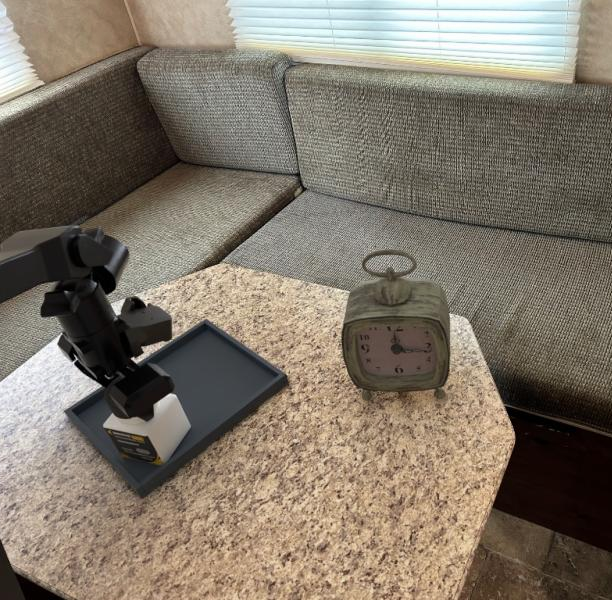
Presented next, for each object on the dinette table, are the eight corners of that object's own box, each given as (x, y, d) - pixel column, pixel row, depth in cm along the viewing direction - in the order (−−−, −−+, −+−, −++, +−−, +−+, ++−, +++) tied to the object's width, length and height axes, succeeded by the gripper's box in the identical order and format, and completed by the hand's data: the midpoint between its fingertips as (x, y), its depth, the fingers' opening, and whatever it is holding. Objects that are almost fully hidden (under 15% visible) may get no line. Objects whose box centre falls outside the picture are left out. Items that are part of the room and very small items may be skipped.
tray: (141, 499, 80) (136, 490, 79) (69, 419, 92) (63, 410, 91) (289, 383, 94) (286, 373, 92) (209, 327, 106) (206, 318, 104)
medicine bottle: (121, 457, 85) (85, 400, 77) (151, 418, 90) (120, 361, 82) (164, 467, 83) (132, 410, 75) (192, 426, 88) (164, 369, 80)
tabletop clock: (353, 408, 89) (325, 272, 73) (360, 363, 96) (335, 230, 80) (453, 407, 87) (445, 268, 71) (452, 362, 94) (445, 226, 78)
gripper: (191, 315, 71) (227, 403, 81) (114, 261, 81) (154, 345, 91) (103, 370, 65) (153, 458, 75) (31, 305, 75) (84, 389, 85)
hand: (137, 407), depth 82 cm, fingers closed on medicine bottle, 6 cm apart
